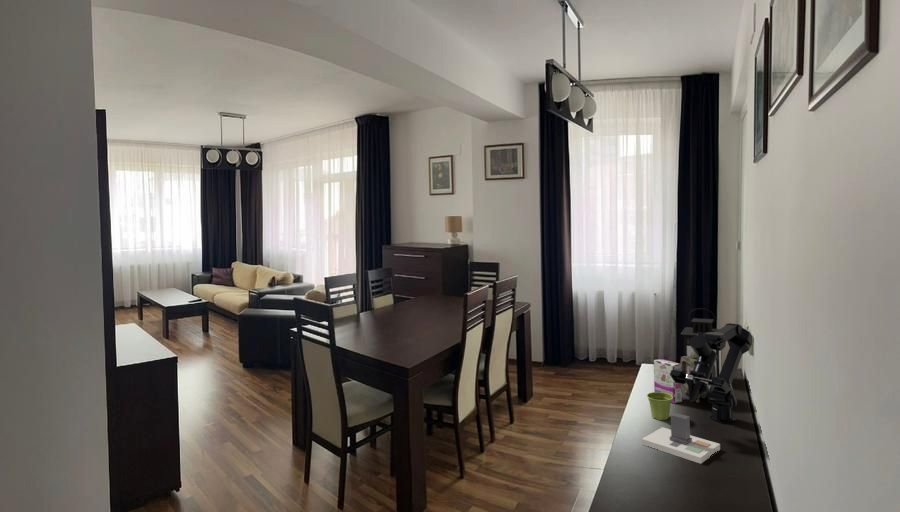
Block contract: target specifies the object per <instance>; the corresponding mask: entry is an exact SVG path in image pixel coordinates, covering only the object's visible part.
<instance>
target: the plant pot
mask: <svg viewBox="0 0 900 512" xmlns="http://www.w3.org/2000/svg"><path fill="white" fill-rule="evenodd" d="M646 397H647V398H648V402H649V408H650V412H651V418H653V419H656V420H658V421H666V420H668V419H669V418H670V410H671V401H672V399H673V396H672V395H670V394H667V393H663V392H655V391H653V392H649V393H647V394H646Z"/></svg>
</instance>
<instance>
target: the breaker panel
mask: <svg viewBox="0 0 900 512" xmlns="http://www.w3.org/2000/svg"><path fill="white" fill-rule="evenodd" d="M670 436H671V428H666V427H664V426H661V427H660V428H659V429H657V430H655V431H653V432H651V433H650V434H648V435H646V436H645V437H643V438H641V445H643V446H645V447H648V446H649V447H648V448H651V447H652V449H654V448H655V449H654V450H657V449H658V451H661V452H664V453H666V454H669V455H672V456H676V457H678V458H679V457H680V458H682V459H685V460H687V461H692V462H693V463H697V464H700V465H702V464H703V463H704V462H705V461H707V460H708V459H710V458H711V457H712V456H713V455H712V454H714V453H715V452H716V453H718V452H719V451H720V450H721V443H718V442H715V441H711V440H708V439H704V438H701V437H697V436H694V435H691V434H690V437H691V438H692V441H691V442H689V443H688V444H686V445H685V444H682V443H678V442H675V441H672V440H670ZM717 451H718V452H717ZM716 453H715V454H716ZM715 454H714V455H715ZM711 455H712V456H711ZM710 456H711V457H710Z"/></svg>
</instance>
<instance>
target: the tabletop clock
mask: <svg viewBox="0 0 900 512" xmlns="http://www.w3.org/2000/svg"><path fill="white" fill-rule="evenodd" d="M697 358H698V356H697V355H696V354H695V352H692V353H691V355H690V356H684V355H683V356H680V360H679V361H680V362H679V364H681V366H682V371H683V372H684V373H685V375H691V373H690V371H691V370H692V371H693V368H694V366H695V364H694V361H696V360H697ZM712 370H713V377H716V368H715V364H714V366H713V369H712ZM682 388H684V389H685V391H684V394H685V395H689V390H688V385H687V383H685V384H682ZM706 394H707V392H703V393H702V394H700V395H699V396H698V397H697V398H696V400H695V401H696V403H697V404H700V403H701V400H700V397H701V398H702V399H706Z"/></svg>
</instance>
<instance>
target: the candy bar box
mask: <svg viewBox="0 0 900 512" xmlns="http://www.w3.org/2000/svg"><path fill="white" fill-rule="evenodd" d="M673 369H677V370H682V366H681V364H680V362H679V363H678V362H674V361H671V360H668V359H663V358H658V359H654V360H653V383H654V385H653V386H654V392H663V393H667V394H670V395H672V396H673V399H672V401H671V403H672V404H679V403H683V386H682V384H680V383H676V382H674V380H673V379H672V377H671V376H670V372H671V370H673Z"/></svg>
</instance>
